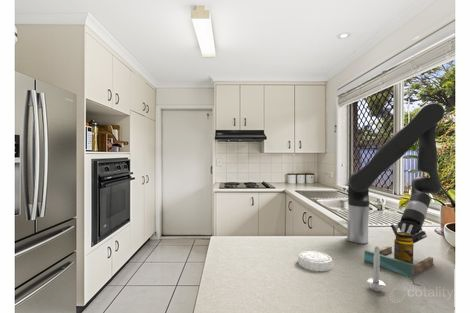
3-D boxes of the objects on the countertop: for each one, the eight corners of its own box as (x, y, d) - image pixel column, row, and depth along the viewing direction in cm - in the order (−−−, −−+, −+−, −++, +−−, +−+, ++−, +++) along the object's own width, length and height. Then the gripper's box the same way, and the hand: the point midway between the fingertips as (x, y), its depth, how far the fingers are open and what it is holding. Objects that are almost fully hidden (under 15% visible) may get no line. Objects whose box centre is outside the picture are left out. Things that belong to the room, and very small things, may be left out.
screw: (388, 293, 77) (371, 293, 77) (379, 285, 82) (363, 285, 82) (389, 249, 77) (373, 248, 77) (380, 243, 82) (364, 243, 82)
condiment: (416, 270, 94) (417, 237, 94) (390, 267, 97) (390, 234, 97) (410, 263, 101) (411, 231, 101) (385, 259, 104) (386, 229, 104)
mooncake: (313, 274, 89) (313, 263, 89) (291, 261, 100) (291, 251, 100) (339, 269, 94) (339, 259, 94) (316, 257, 105) (316, 248, 105)
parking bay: (388, 251, 114) (389, 242, 114) (433, 264, 101) (433, 253, 101) (364, 261, 101) (364, 250, 101) (411, 277, 88) (411, 265, 89)
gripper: (394, 205, 113) (380, 238, 106) (431, 211, 102) (418, 248, 95) (399, 216, 116) (386, 249, 109) (435, 223, 106) (423, 260, 98)
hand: (400, 248), depth 102 cm, fingers closed
